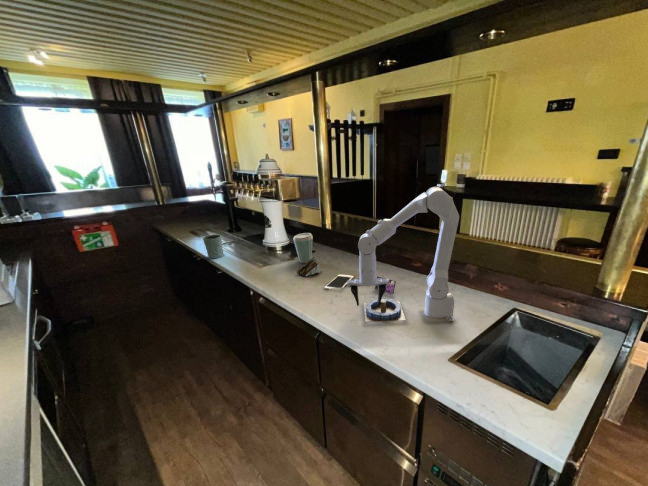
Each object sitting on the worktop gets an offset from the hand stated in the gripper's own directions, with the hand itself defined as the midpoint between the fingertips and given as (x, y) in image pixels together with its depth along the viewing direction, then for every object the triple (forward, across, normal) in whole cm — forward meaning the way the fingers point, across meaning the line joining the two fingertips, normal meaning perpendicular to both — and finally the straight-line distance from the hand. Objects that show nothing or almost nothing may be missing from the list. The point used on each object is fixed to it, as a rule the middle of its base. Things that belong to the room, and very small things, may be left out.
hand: (368, 304), depth 109 cm
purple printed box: (+5, -8, -18) cm, 20 cm away
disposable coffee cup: (+5, +32, -62) cm, 70 cm away
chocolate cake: (+5, +26, -43) cm, 51 cm away
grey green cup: (+5, +88, -78) cm, 118 cm away
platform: (+5, -6, 0) cm, 7 cm away
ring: (+3, -6, 0) cm, 6 cm away
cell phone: (+5, +12, -30) cm, 32 cm away
